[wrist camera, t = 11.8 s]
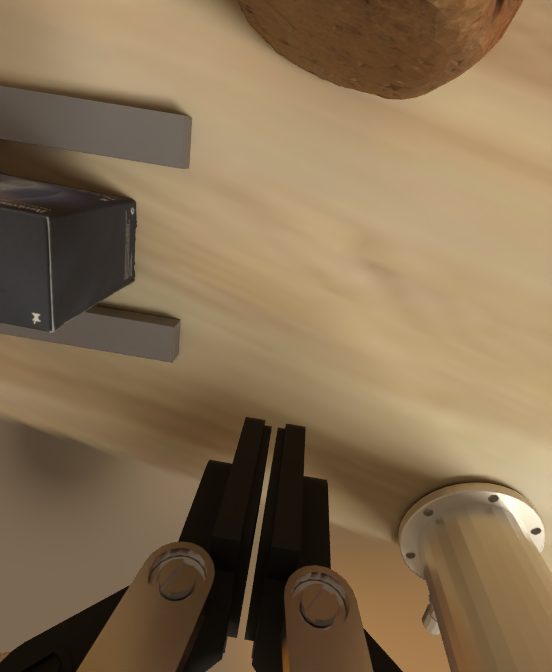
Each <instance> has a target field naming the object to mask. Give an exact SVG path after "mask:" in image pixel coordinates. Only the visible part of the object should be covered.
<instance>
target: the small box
mask: <svg viewBox="0 0 552 672" xmlns="http://www.w3.org/2000/svg"><path fill="white" fill-rule="evenodd" d="M136 223H137V221H136V202H135V201H134V200H132V199H128V198H122V197H117V196H112V195H107V194H102V193H97V192H92V191H87V190H82V189H77V188H71V187H66V186H61V185H56V184H51V183H46V182H41V181H36V180H30V179H25V178H20V177H15V176H9V175H4V174H0V323H2V324H7V325H12V326H18V327H23V328H28V329H33V330H39V331H44V332H48V333H52V332H54V331H55V330H57V329H59V328H60V327H61V326H63V325H65V324H66V323H67V322H69V321H70V320H72V319H74V318H76V317H77V316H79V315H80V314H82V313H83V312H85V311H86V310H88V309H90V308H91V307H93V306H95V305H96V304H97V303H99V302H100V301H102V300H104V299H105V298H107V297H108V296H110V295H112V294H113V293H115V292H116V291H118V290H120V289H122V288H123V287H125V286H127V285H129V284H131V283H132V282H134V281H135V279H134V277H135V271H134V265H135V262H134V255H135V240H136V239H135V229H136V227H137V225H136Z"/></svg>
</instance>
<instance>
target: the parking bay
mask: <svg viewBox="0 0 552 672" xmlns="http://www.w3.org/2000/svg"><path fill="white" fill-rule="evenodd" d="M191 126H192V118H191V117H188V116H185V115H179V114H173V113H167V112H160V111H154V110H148V109H142V108H136V107H130V106H124V105H117V104H111V103H105V102H99V101H93V100H87V99H81V98H74V97H68V96H62V95H56V94H50V93H44V92H37V91H31V90H25V89H19V88H13V87H7V86H1V85H0V139H5V140H11V141H17V142H23V143H29V144H35V145H41V146H47V147H53V148H59V149H65V150H71V151H78V152H84V153H90V154H96V155H102V156H108V157H114V158H120V159H126V160H132V161H138V162H145V163H151V164H157V165H163V166H169V167H175V168H181V169H186V168H189V161H190V143H191ZM0 333H1V334H7V335H13V336H18V337H24V338H30V339H36V340H42V341H48V342H54V343H60V344H66V345H71V346H77V347H83V348H89V349H95V350H101V351H107V352H113V353H119V354H124V355H130V356H136V357H142V358H148V359H154V360H160V361H166V362H171V363H173V361H174V360H175V358H176V357H177V356H178V353H179V335H180V320H178V319H172V318H166V317H160V316H154V315H148V314H142V313H136V312H130V311H124V310H118V309H112V308H106V307H101V306H93V307H91V308H90V309H88V310H86V311H85V312H83V313H82V314H80V315H79V316H77V317H76V318H74V319H72V320H70V321H69V322H67V323H66V324H65V325H63V326H61V327H60V328H59V329H57V330H55V331H54V332H52V333H48V332H44V331H39V330H33V329H28V328H23V327H18V326H12V325H7V324H2V323H0Z"/></svg>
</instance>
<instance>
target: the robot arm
mask: <svg viewBox="0 0 552 672" xmlns="http://www.w3.org/2000/svg"><path fill="white" fill-rule="evenodd" d="M271 428H272V427H271V426H265V420H261V419H255V418H249V417H246V419H245V422H244V425H243V429H242V432H241V436H240V439H239V443H238V446H237V450H236V453H235V457H234V460H233V464H230V463H225V462H219V461H213V460H209V461H208V464H207V466H206V469H205V471H204V474H203V477H202V479H201V482H200V485H199V488H198V490H197V493H196V496H195V498H194V501H193V503H192V506H191V509H190V511H189V514H188V517H187V520H186V522H185V525H184V528H183V530H182V533H181V536H180V538H179V541H178V542H173V543H170V544H167V545H164V546H162V547H160V548H159V549H157V550H156V551H154V552H153V553H152V554H151V555H150V556H149V557H148V558H147V560H146V561H145V562H144V564H143V565H142V567H141V569H140V570H139V572H138V573H137V575H136V577H135V578H134V580H133V581H132V583H131V585H130V586H127V587H126V588H124V589H122V590H120V591H118V592H117V593H115V594H113V595H111V596H109V597H107V598H105V599H104V600H102V601H100V602H98V603H96V604H94V605H92V606H91V607H89V608H87V609H85V610H83V611H82V612H80V613H78V614H76V615H74V616H72V617H70V618H69V619H67V620H65V621H63V622H62V623H59V624H58V625H56V626H54V627H52V628H50V629H49V630H47V631H45V632H43V633H41V634H39V635H37V636H36V637H34V638H32V639H30V640H28V641H26V642H25V643H23V644H22V645H20V646H19V647H17V648H16V649H14V650H13V651H12V652H3V653H0V672H206V671H207V670H208V669H210V668H211V667H212V666H213V665H215V664H216V663H217V662H219V661H220V660H221V659H222V655H223V653H224V652H225V647H226V642H227V637H228V636H229V637H235V638H237V634H238V628H239V622H240V616H241V610H242V605H243V599H244V593H245V587H246V581H247V575H248V570H249V563H250V558H251V552H252V546H253V540H254V535H255V529H256V523H257V517H258V511H259V505H260V499H261V493H262V486H263V480H264V473H265V467H266V460H267V454H268V448H269V441H270V435H271ZM304 451H305V427H303V426H297V425H291V424H286V427H285V429H283V428H278V430H277V436H276V442H275V448H274V455H273V461H272V467H271V473H270V479H269V485H268V491H267V497H266V504H265V510H264V517H263V523H262V529H261V536H260V542H259V549H258V555H257V562H256V568H255V575H254V582H253V588H252V594H251V601H250V607H249V614H248V620H247V627H246V633H245V640H251V641H254V644H253V651H252V658H253V660H252V666H253V667H254V669H255V671H256V672H403V671H401V669H400V668H399V667H398V666H397V665H396V664H395V663H394V661H393V660H392V659H391V658H390V657H389V656H388V655H387V654H386V653H385V651H384V650H383V649H382V648H381V647H380V646H379V645H378V644H377V643H376V642H375V640H374V639H373V638H372V637H371V636H370V635H369V634H368V633H367V632H366V630H365V629H364V628H363V625H362V621H361V617H360V613H359V609H358V605H357V600H356V598H355V595H354V593H353V590H352V589H351V587H350V586H349V584H348V583H347V581H346V580H345V579H344V578H343V577H341V576H340V575H339V574H338V573H337V572H334V571H333V570H331V564H330V535H329V505H328V483H327V480H323V479H317V478H312V477H306V476H303V474H304ZM545 537H546V533H545V526H544V523H543V521H542V519H541V517H540V515H539V514H538V512H537V511H536V509H535V508H534V506H533V505H532V504H531V503H530V502H529V501H528V500H527V499H526V498H525V497H524V496H522V495H520V494H519V493H517V492H516V491H514V490H511V489H509V488H506V487H504V486H500V485H495V484H490V483H476V482H474V483H462V484H456V485H452V486H447V487H444V488H442V489H439V490H436V491H434V492H432V493H430V494H428V495H427V496H425V497H423V498H421V499H420V500H419V501H418V502H417V503H415V504H414V505H413V506H412V507H411V508H410V509H409V511H408V512H407V513H406V514H405V516H404V518H403V520H402V522H401V523H400V527H399V532H398V542H399V546H400V551H401V555H402V557H403V559H404V561H405V563H406V564H407V565H408V567H409V568H410V569H411V570H412V571H413V572H414V573H415V574H416V575H418V576H419V577H421V578H423V579H424V580H426V583H427V586H428V590H429V602H430V604H428V606H427V608H426V611H425V612H424V615H423V617H422V623H423V625H424V627H425V629H426V630H427V631H429V632H430V633H431V634H435V635H437V634H441V637H442V641H443V644H444V648H445V652H446V655H447V659H448V663H449V666H450V670H451V672H552V573H551V571H550V569H549V568H548V566H547V564H546V562H545V561H544V559H543V557H542V556H541V551H542V549H543V547H544V544H545Z"/></svg>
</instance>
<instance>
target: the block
mask: <svg viewBox="0 0 552 672" xmlns="http://www.w3.org/2000/svg"><path fill="white" fill-rule="evenodd" d="M238 2H239V4H240V6H241V9H242V11H243V12H244V14H245V15H246V18H247V20H248V21H249V23H250V25H251V26H252V27H253V28H254V29H255V30H256V31H257V32H258V33H259V34H260V35H261V36H262V37H263V38H264V39H266V40H267V41H268V42H269V43H270V44H271V45H272V47H273V48H274V49H275V51H276V52H277V53H279V54H280V55H282V56H283V57H285V58H286V59H288V60H289V61H291V62H292V63H294V64H296V65H297V66H299V67H301V68H302V69H304V70H306V71H308V72H310V73H312V74H315V75H317V76H318V77H320V78H321V79H324V80H328V81H330V82H332V83H334V84H336V85H338V86H343V87H346V88H350V89H355V90H358V91H361V92H365V93H369V94H374V95H378V96H380V97H382V98H386V99H400V100H401V99H409V98H414V97H418V96H421V95H424V94H427V93H429V92H430V91H432V90H434V89H436V88H438V87H440V86H442V85H444V84H446V83H447V82H449V81H451V80H453V79H455V78H456V77H458V76H460V75H461V74H463V73H464V72H465V71H467V70H468V69H470V68H471V67H472V66H473V65H475V64H476V63H477V62H478V61H479V60H481V59H482V58H483V57H484V56H485V55H486V54H487V53H488V52H489V51H490V50H491V49H492V48H493V47H494V46H495V45H496V43H497V42H498V41H499V40H500V39H501V38H502V36H503V34H504V33H505V31H506V29H507V28H508V26H509V24H510V23H511V21H512V19H513V18H514V16H515V14H516V12H517V11H518V9H519V7H520V6H521V4H522V2H523V0H238Z"/></svg>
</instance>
